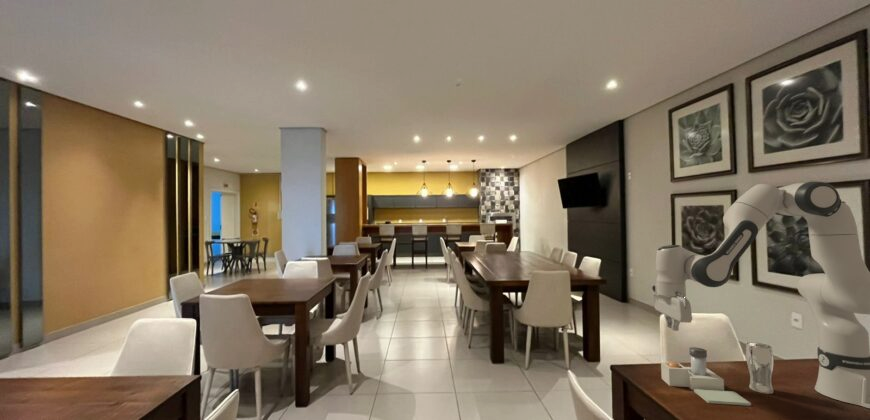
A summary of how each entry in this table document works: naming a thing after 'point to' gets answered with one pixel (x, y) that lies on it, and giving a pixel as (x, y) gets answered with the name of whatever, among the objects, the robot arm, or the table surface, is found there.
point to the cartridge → (698, 361)
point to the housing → (690, 378)
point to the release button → (673, 365)
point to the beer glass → (760, 366)
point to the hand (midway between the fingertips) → (672, 328)
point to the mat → (722, 397)
